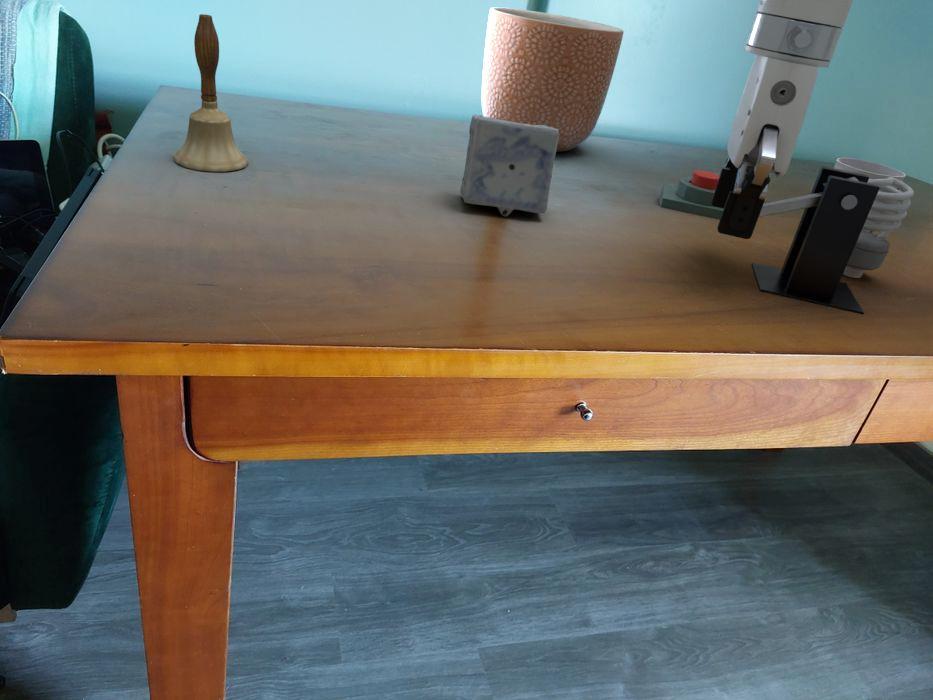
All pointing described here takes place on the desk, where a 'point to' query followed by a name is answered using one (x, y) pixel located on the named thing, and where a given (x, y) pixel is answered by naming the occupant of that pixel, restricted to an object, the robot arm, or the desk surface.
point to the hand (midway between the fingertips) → (729, 221)
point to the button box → (689, 199)
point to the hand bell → (209, 114)
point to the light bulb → (879, 226)
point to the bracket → (823, 243)
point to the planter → (548, 71)
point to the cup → (869, 173)
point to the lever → (792, 203)
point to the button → (705, 180)
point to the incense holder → (509, 165)
